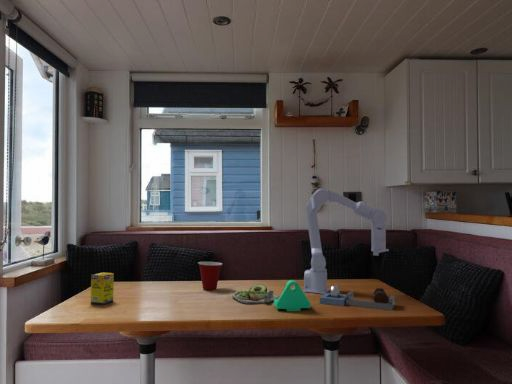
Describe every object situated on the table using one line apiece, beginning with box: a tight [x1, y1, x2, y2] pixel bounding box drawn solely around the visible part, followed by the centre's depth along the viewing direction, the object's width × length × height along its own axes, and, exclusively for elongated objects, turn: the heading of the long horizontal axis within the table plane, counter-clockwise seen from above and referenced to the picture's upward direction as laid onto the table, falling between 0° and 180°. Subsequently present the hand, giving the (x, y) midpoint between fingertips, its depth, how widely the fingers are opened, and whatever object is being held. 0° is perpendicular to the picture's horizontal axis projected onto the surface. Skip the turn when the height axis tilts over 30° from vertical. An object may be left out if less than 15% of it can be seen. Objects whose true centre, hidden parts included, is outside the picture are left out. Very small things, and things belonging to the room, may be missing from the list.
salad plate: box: [232, 284, 278, 305], centre depth 153 cm, size 19×18×5 cm
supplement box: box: [90, 272, 115, 306], centre depth 147 cm, size 6×6×11 cm
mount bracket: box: [345, 290, 396, 311], centre depth 144 cm, size 16×8×4 cm, turn 64°
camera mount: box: [273, 279, 311, 312], centre depth 140 cm, size 12×8×10 cm, turn 96°
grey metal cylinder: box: [330, 284, 341, 298], centre depth 148 cm, size 3×3×6 cm
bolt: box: [372, 287, 390, 303], centre depth 150 cm, size 6×5×15 cm
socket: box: [319, 292, 347, 307], centre depth 148 cm, size 9×9×2 cm
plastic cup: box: [197, 261, 223, 292], centre depth 171 cm, size 11×11×12 cm
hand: (378, 270), depth 163 cm, fingers closed
